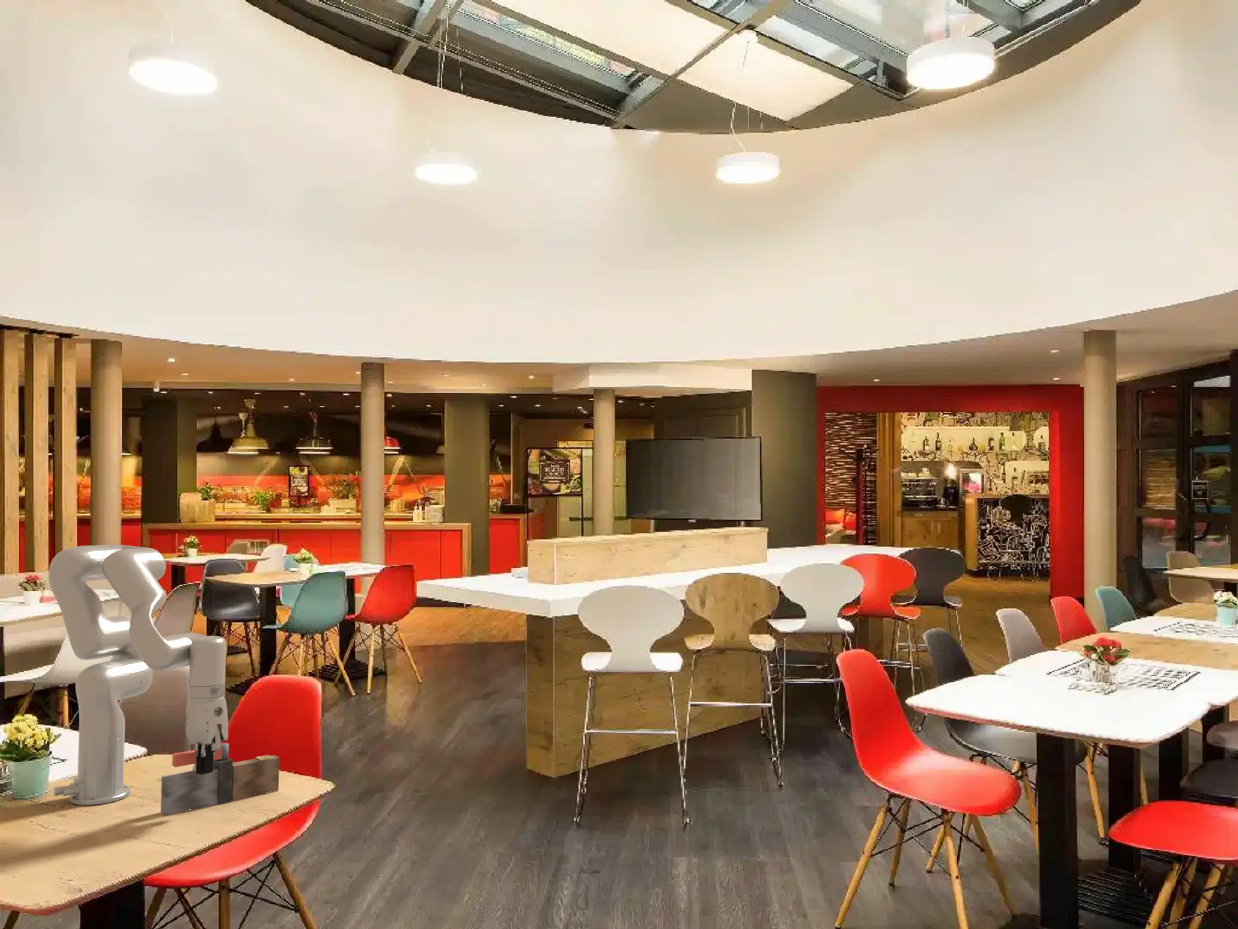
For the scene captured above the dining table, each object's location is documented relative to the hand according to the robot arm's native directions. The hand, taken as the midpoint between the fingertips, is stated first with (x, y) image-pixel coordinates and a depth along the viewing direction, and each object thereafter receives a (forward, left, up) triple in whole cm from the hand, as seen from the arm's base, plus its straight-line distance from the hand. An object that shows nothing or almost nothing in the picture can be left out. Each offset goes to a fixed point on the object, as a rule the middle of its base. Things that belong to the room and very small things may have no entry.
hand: (204, 772), depth 207 cm
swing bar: (+1, +5, +1) cm, 5 cm away
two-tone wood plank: (+6, +5, -9) cm, 12 cm away
